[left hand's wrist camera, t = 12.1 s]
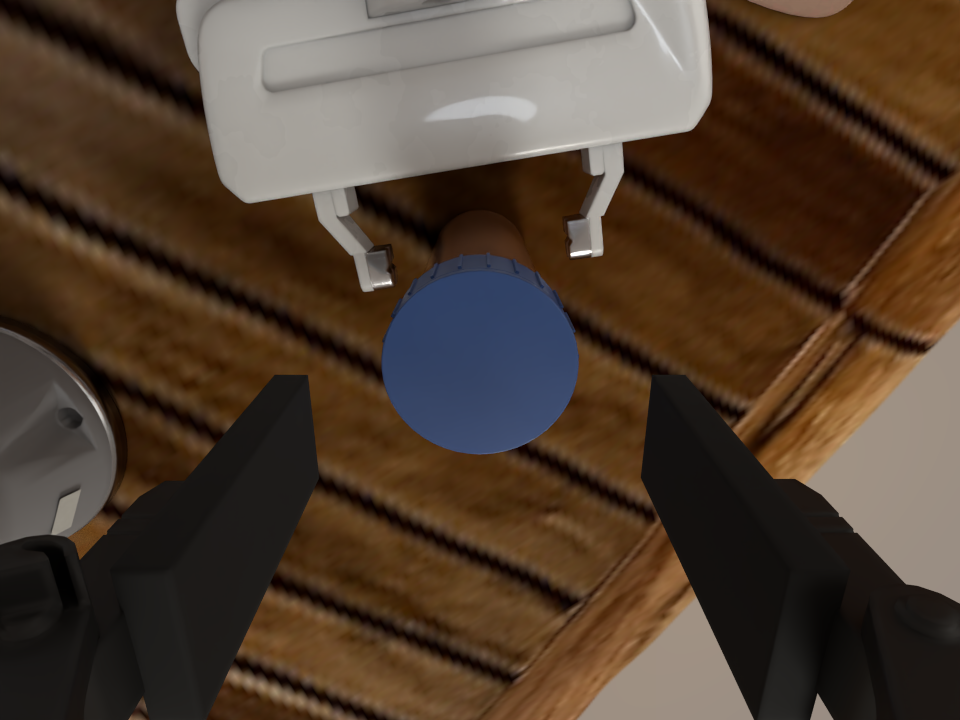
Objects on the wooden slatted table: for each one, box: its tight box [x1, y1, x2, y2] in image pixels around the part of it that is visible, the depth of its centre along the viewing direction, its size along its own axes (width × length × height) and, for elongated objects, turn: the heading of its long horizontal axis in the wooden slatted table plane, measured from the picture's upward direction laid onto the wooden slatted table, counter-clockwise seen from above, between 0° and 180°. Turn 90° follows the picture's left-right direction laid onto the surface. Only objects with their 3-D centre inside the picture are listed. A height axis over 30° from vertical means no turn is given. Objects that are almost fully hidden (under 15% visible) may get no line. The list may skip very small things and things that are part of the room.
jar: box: [423, 210, 536, 274], centre depth 26 cm, size 5×5×17 cm
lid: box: [382, 253, 579, 454], centre depth 19 cm, size 6×6×2 cm
